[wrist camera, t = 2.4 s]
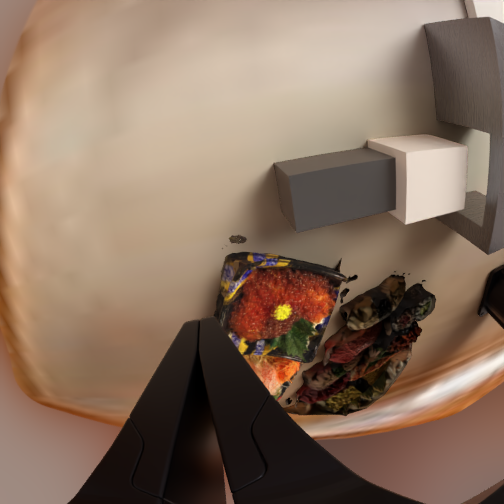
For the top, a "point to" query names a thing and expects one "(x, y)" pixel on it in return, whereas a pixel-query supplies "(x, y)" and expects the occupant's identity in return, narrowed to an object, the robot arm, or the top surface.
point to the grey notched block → (473, 113)
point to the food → (318, 329)
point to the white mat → (485, 9)
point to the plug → (375, 182)
